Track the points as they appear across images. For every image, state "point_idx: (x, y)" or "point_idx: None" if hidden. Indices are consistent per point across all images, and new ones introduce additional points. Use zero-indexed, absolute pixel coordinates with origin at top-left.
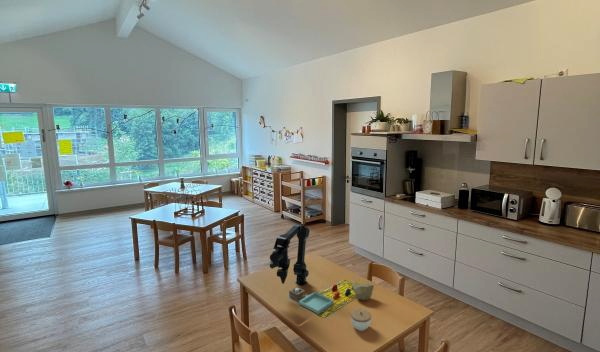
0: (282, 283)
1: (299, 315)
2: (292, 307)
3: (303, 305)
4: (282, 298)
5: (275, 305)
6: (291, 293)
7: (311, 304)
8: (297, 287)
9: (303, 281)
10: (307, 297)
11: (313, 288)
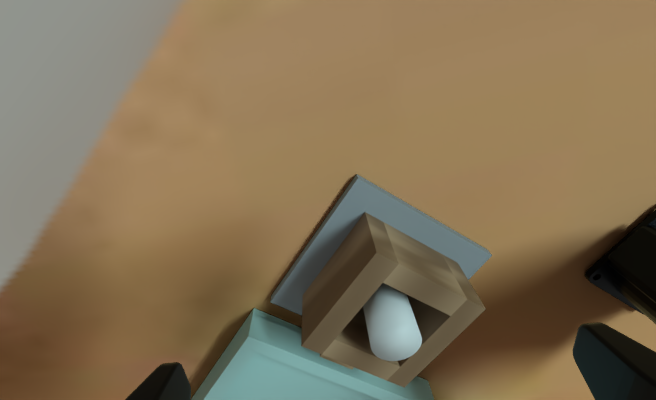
0: (159, 373)
1: (103, 338)
2: (197, 269)
3: (225, 358)
4: (336, 139)
5: (169, 94)
6: (351, 268)
7: (272, 391)
8: (465, 318)
9: (640, 309)
10: (334, 380)
11: (533, 358)
